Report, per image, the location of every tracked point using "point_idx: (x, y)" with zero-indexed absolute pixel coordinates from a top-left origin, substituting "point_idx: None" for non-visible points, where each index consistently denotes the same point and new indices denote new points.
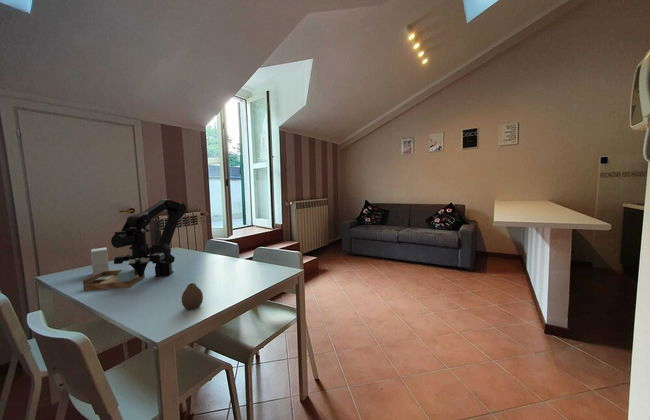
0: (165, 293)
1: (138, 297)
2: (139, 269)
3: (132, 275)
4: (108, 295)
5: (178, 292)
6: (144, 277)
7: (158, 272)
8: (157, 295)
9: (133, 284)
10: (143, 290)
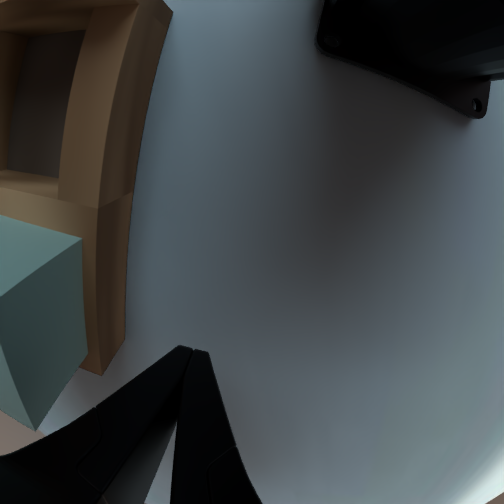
0: (388, 485)
1: (268, 495)
2: (146, 475)
3: (55, 316)
4: (79, 416)
5: (433, 478)
6: (170, 16)
7: (381, 24)
8: (353, 494)
9: (124, 280)
10: (273, 444)
